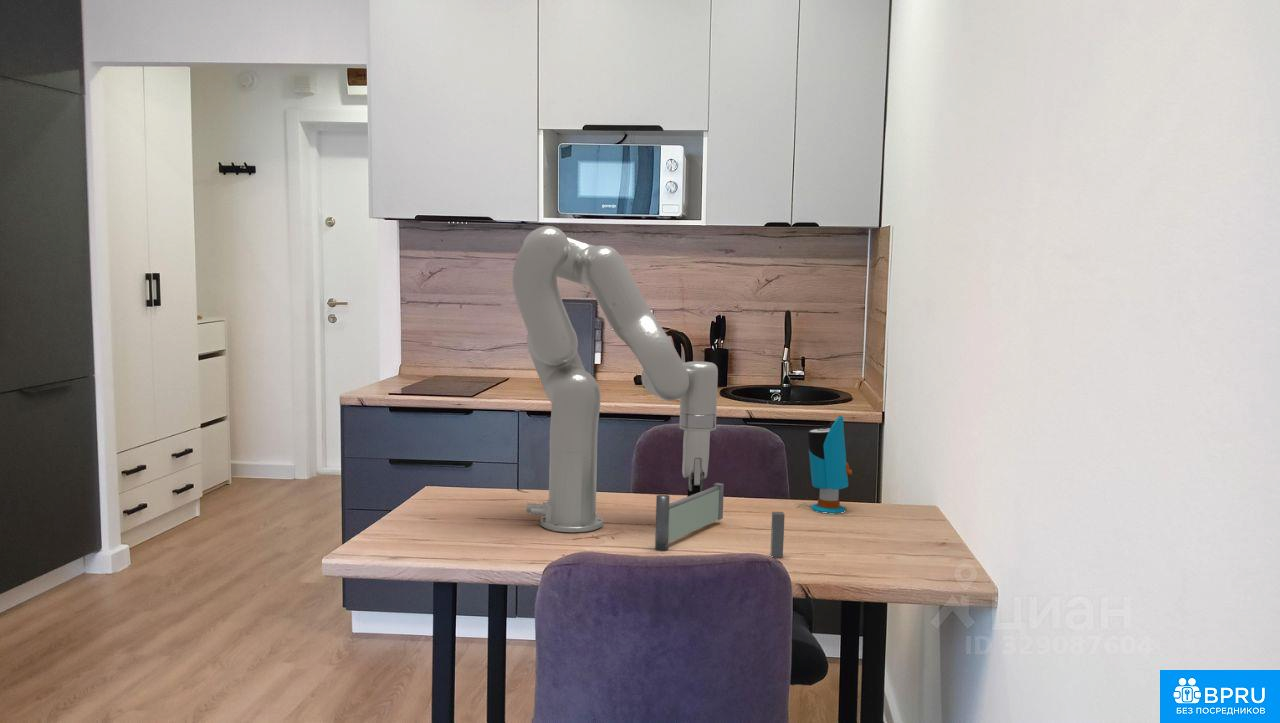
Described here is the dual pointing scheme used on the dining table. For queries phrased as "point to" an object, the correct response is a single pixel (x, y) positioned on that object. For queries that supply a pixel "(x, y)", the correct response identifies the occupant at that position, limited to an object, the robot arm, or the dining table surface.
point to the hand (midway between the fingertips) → (694, 509)
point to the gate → (695, 511)
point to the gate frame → (663, 528)
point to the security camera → (828, 465)
